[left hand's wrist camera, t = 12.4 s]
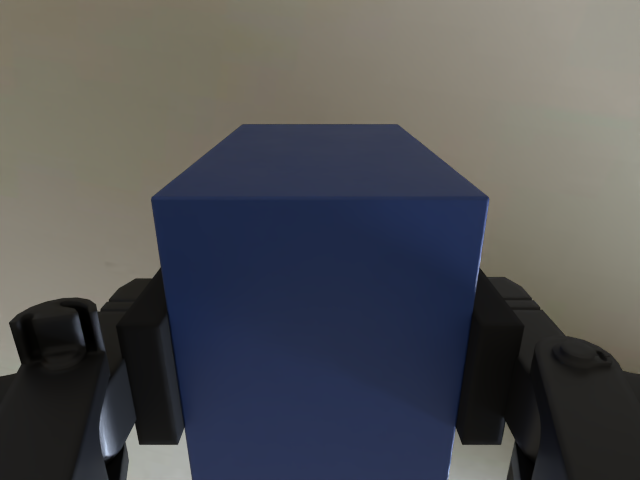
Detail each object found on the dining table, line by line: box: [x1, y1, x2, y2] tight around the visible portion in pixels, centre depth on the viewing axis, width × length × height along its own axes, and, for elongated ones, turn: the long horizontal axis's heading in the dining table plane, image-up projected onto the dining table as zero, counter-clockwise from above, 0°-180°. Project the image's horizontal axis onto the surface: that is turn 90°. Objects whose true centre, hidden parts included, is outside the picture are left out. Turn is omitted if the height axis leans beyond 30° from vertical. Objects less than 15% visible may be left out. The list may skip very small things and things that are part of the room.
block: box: [151, 124, 489, 480], centre depth 13 cm, size 6×7×9 cm
